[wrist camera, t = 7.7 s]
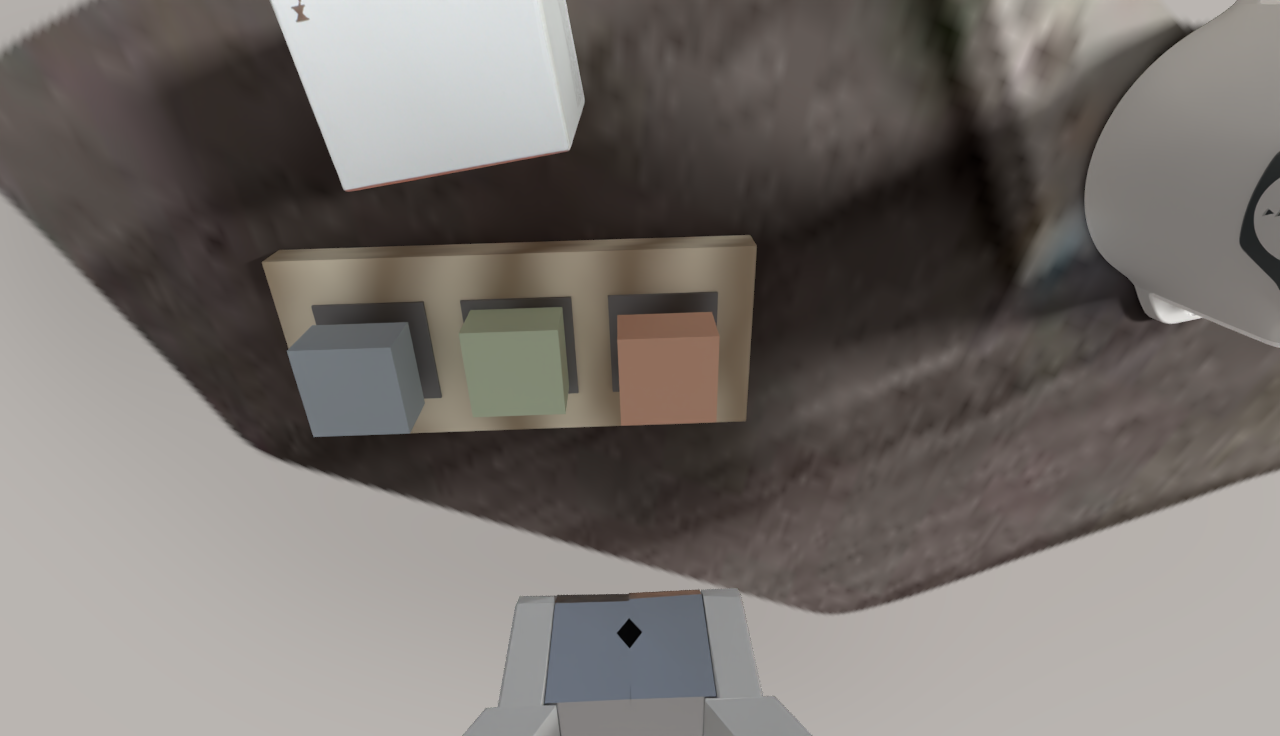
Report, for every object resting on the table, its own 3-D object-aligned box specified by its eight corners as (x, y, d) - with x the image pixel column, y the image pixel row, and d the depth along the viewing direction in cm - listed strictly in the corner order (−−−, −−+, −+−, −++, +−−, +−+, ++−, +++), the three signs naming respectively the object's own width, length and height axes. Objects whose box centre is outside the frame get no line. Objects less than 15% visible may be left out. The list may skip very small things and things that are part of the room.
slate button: (408, 322, 34) (390, 347, 32) (424, 403, 37) (410, 433, 34) (312, 325, 34) (286, 351, 32) (335, 406, 37) (313, 436, 34)
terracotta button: (711, 311, 35) (719, 336, 32) (709, 393, 37) (716, 422, 34) (617, 315, 35) (617, 339, 32) (620, 396, 37) (621, 425, 34)
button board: (750, 234, 37) (757, 247, 35) (740, 404, 42) (746, 422, 40) (279, 250, 36) (259, 263, 34) (328, 418, 41) (314, 438, 39)
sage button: (562, 306, 36) (557, 330, 33) (569, 386, 38) (565, 414, 36) (470, 309, 36) (458, 333, 33) (482, 389, 38) (472, 417, 35)
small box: (434, 134, 34) (338, 196, 22) (390, -7, 31) (254, -20, 19) (589, 105, 33) (574, 153, 22) (561, -41, 30) (526, -75, 19)
